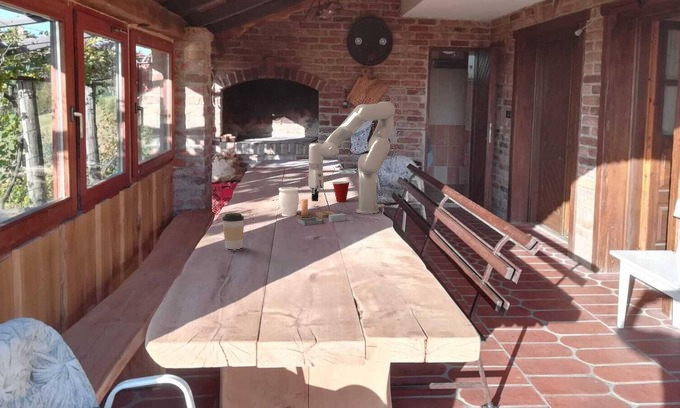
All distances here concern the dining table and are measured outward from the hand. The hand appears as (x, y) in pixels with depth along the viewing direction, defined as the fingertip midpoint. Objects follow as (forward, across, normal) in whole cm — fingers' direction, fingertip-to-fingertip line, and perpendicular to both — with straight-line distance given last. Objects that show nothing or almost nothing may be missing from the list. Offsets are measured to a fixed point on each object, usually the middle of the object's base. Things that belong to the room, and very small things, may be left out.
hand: (314, 201), depth 358 cm
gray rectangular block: (+7, -24, -1) cm, 25 cm away
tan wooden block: (+8, -11, -1) cm, 13 cm away
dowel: (+7, -14, +12) cm, 19 cm away
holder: (+8, -14, +12) cm, 20 cm away
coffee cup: (+9, -52, +62) cm, 81 cm away
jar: (+8, +2, +14) cm, 16 cm away
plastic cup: (+7, +30, -31) cm, 44 cm away
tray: (+8, -23, +13) cm, 27 cm away
